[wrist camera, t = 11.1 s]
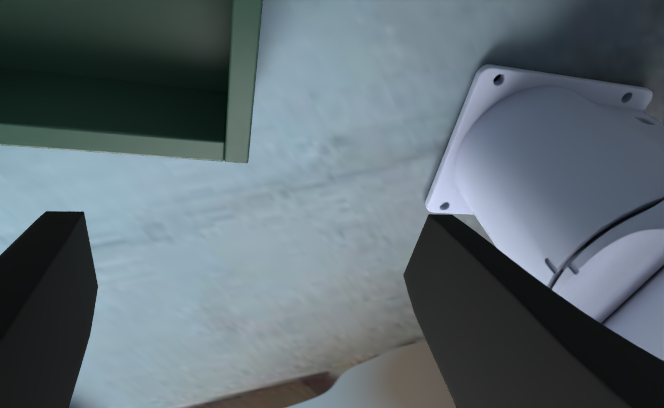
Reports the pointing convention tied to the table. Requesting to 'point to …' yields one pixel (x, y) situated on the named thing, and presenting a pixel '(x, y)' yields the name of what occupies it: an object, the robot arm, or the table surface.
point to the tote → (130, 76)
